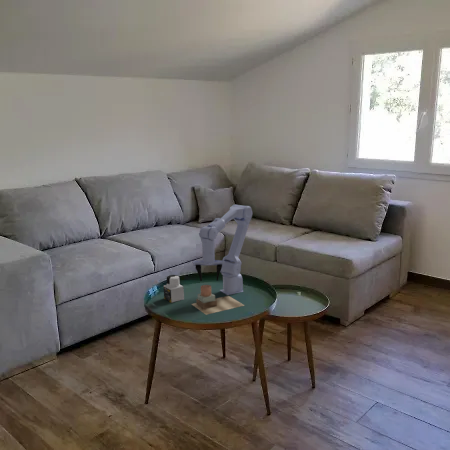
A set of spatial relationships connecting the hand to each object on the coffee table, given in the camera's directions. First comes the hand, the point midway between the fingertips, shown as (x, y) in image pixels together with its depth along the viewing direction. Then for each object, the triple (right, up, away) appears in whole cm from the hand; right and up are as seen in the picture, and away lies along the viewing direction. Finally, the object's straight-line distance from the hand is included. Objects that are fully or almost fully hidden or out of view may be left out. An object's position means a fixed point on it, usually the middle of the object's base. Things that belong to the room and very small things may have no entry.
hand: (209, 280), depth 230 cm
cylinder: (-1, -6, -5) cm, 8 cm away
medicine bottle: (-17, -10, +5) cm, 21 cm away
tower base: (-1, -11, -4) cm, 12 cm away
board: (+4, -11, -4) cm, 13 cm away
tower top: (-1, -9, -5) cm, 10 cm away
